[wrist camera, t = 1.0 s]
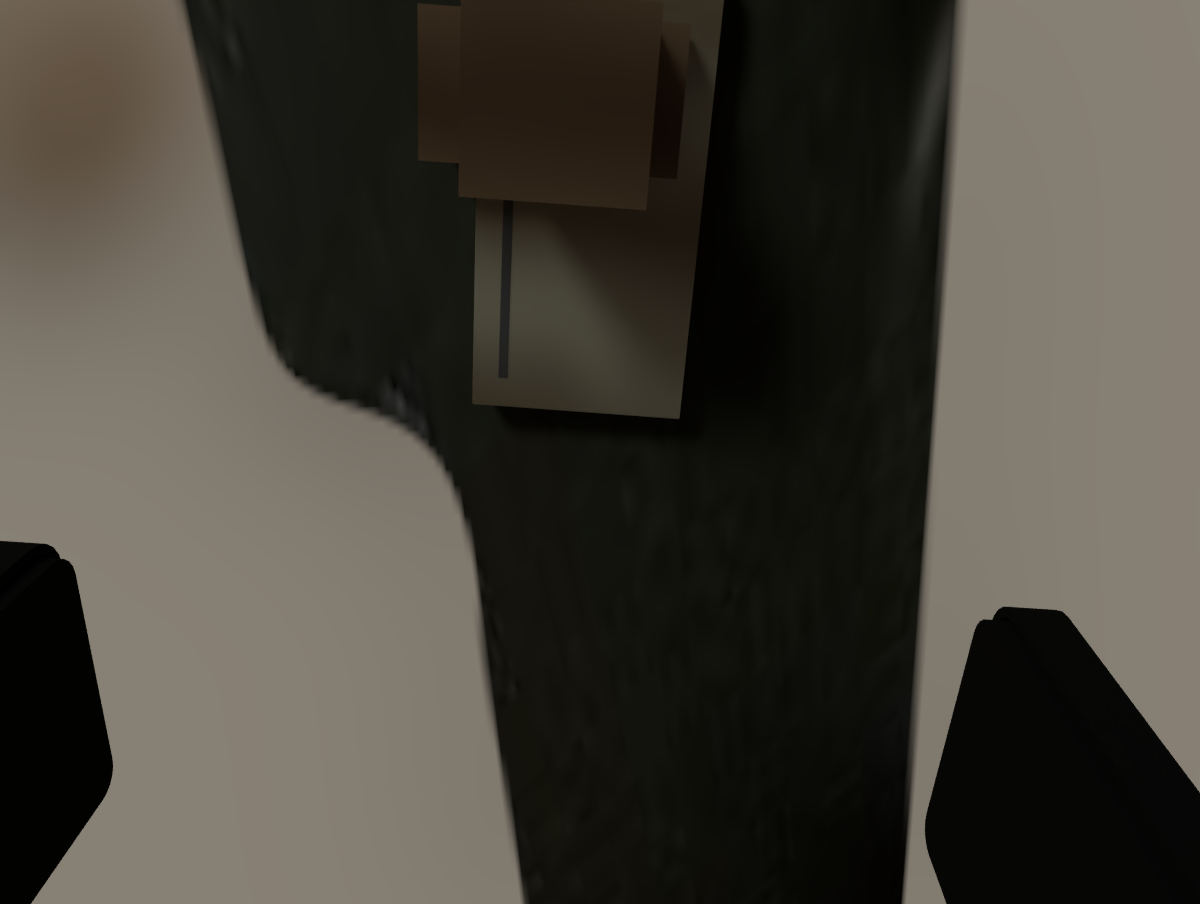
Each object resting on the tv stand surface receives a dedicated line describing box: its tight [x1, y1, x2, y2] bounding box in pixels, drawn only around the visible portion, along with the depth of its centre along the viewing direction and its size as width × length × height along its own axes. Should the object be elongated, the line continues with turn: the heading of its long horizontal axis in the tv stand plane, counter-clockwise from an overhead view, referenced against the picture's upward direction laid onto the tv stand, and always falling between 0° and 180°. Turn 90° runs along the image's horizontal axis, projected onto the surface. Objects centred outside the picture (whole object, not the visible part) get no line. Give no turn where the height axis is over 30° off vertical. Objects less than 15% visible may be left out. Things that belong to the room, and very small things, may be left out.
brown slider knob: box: [418, 0, 692, 210], centre depth 24 cm, size 4×7×11 cm, turn 86°
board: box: [472, 0, 724, 419], centre depth 30 cm, size 14×7×2 cm, turn 176°
